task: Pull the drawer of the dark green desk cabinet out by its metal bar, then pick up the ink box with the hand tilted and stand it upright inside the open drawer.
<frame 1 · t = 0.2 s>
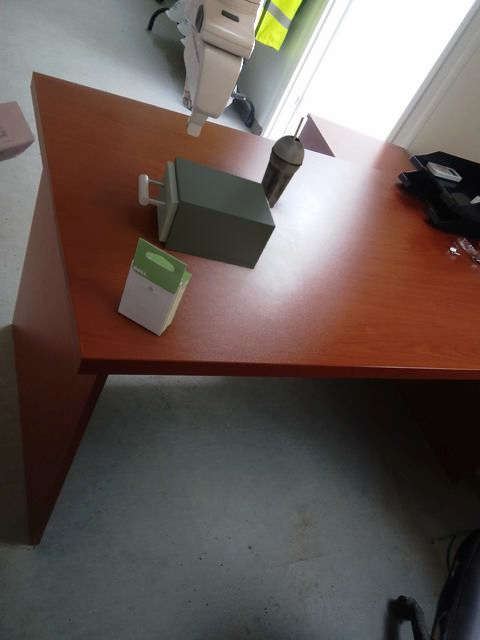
hand: (189, 118, 67), 20 cm above the table, tool pointing down, fingers open, 8 cm apart
drawer: (194, 208, 81), point 5 cm above the table, slide at 0.0 cm, touching cabinet
beverage cup: (264, 202, 104), on the table
cabinet: (207, 236, 86), on the table
ink box: (145, 318, 66), on the table
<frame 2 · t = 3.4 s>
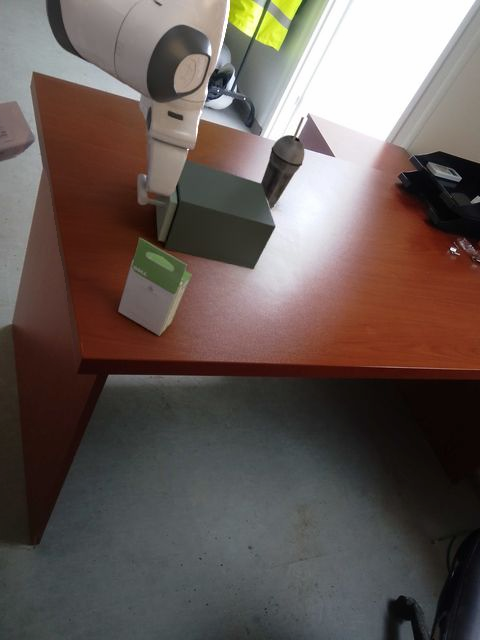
hand: (150, 187, 76), 7 cm above the table, tool pointing down, fingers closed, pressing on drawer
drawer: (193, 208, 81), point 5 cm above the table, slide at 0.2 cm, touching gripper
everything else where it was.
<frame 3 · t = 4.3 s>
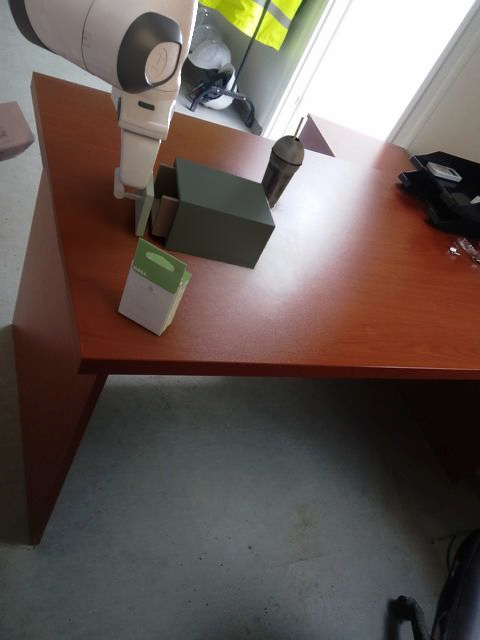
hand: (127, 180, 75), 7 cm above the table, tool pointing down, fingers closed, pressing on drawer
drawer: (172, 202, 79), point 5 cm above the table, slide at 4.0 cm, touching gripper
everything else where it was.
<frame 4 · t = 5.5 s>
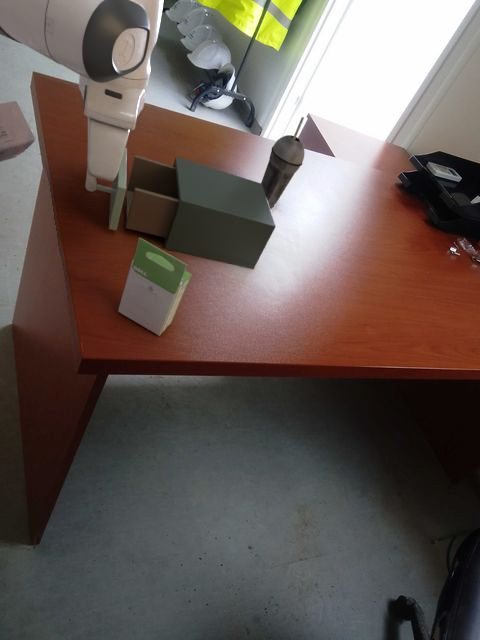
hand: (100, 173, 73), 7 cm above the table, tool pointing down, fingers closed, pressing on drawer
drawer: (148, 196, 77), point 5 cm above the table, slide at 8.2 cm, touching gripper
everything else where it was.
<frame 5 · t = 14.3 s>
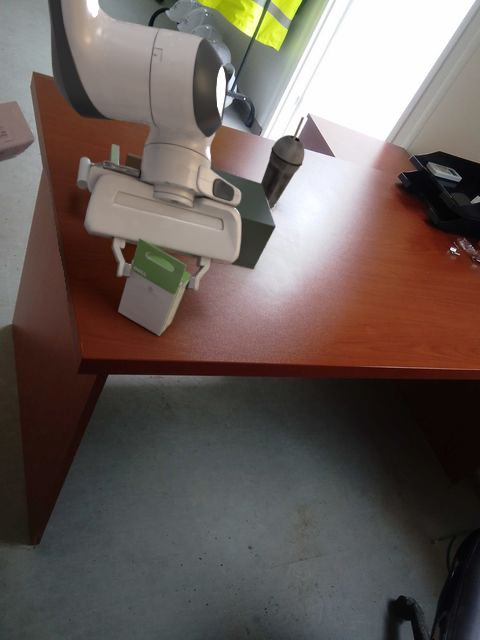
hand: (158, 284, 61), 7 cm above the table, tool tilted 45°, fingers closed on ink box, 8 cm apart
drawer: (141, 194, 77), point 5 cm above the table, slide at 9.4 cm
ink box: (145, 318, 66), on the table, touching gripper
everything else where it was.
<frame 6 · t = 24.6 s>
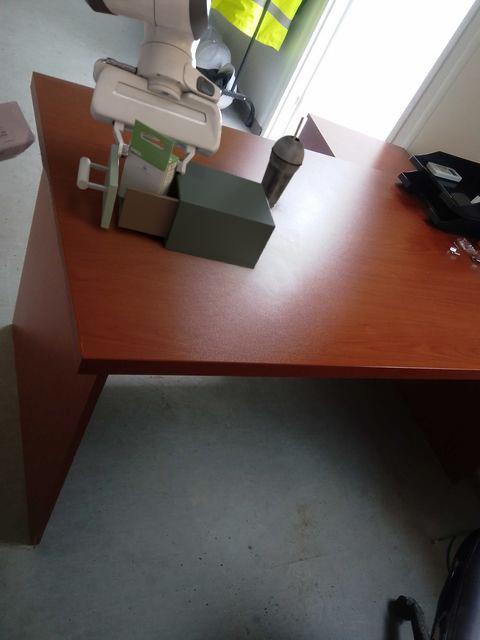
hand: (151, 165, 73), 11 cm above the table, tool tilted 45°, fingers closed on ink box, 8 cm apart
ink box: (140, 203, 78), point 3 cm above the table, touching gripper
everything else where it was.
when the fingers open (11 cm above the table, at t = 29.2 s): ink box drops 1 cm, resting on drawer.
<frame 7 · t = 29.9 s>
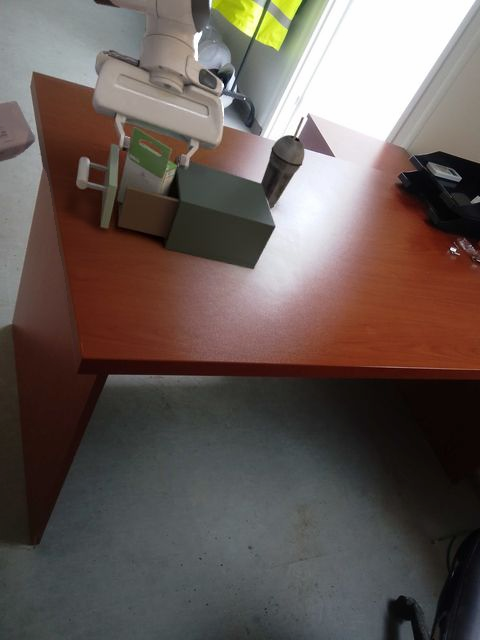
hand: (153, 158, 73), 12 cm above the table, tool tilted 45°, fingers open, 8 cm apart
drawer: (140, 193, 77), point 5 cm above the table, slide at 9.5 cm, touching ink box
ink box: (139, 209, 79), point 2 cm above the table, touching drawer, gripper
everything else where it was.
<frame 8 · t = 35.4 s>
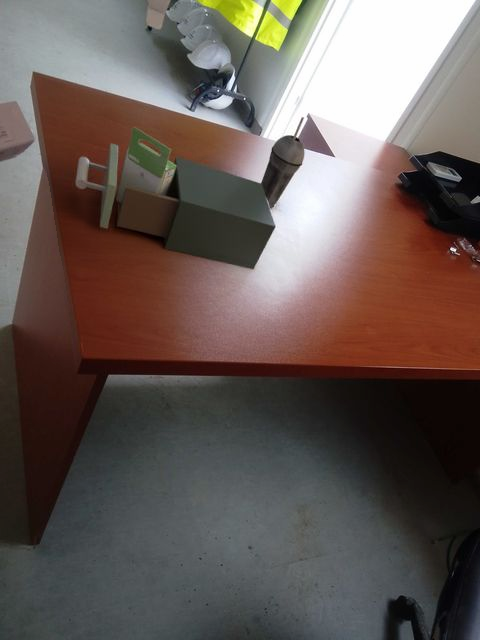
hand: (151, 13, 56), 31 cm above the table, tool pointing down, fingers open, 8 cm apart
ink box: (138, 209, 79), point 2 cm above the table, touching drawer
everything else where it was.
at the end: drawer slide at 9.6 cm; ink box inside the target area in the drawer (0.2 cm from its centre), point 1.9 cm above the cabinet's base; ink box tilted 0° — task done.
